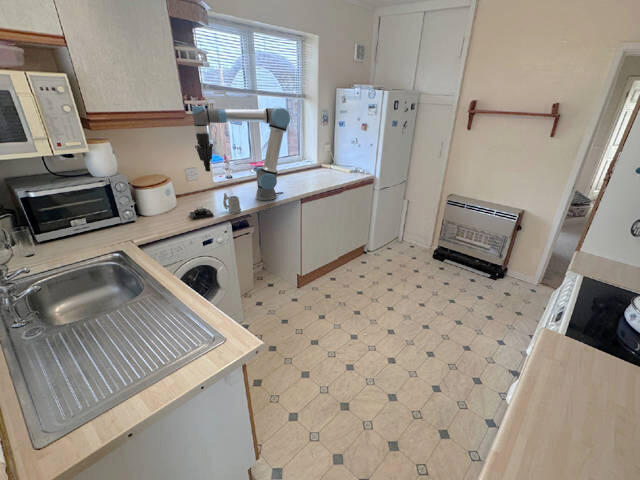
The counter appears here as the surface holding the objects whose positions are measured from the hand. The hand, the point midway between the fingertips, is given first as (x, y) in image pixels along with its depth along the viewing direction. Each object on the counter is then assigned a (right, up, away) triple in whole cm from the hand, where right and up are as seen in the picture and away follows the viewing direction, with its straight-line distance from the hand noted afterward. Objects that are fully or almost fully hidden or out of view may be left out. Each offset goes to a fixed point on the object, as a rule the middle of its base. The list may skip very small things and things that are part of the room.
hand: (208, 171), depth 210 cm
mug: (+15, -26, +2) cm, 31 cm away
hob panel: (-1, -30, -7) cm, 31 cm away
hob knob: (-1, -27, -9) cm, 28 cm away
